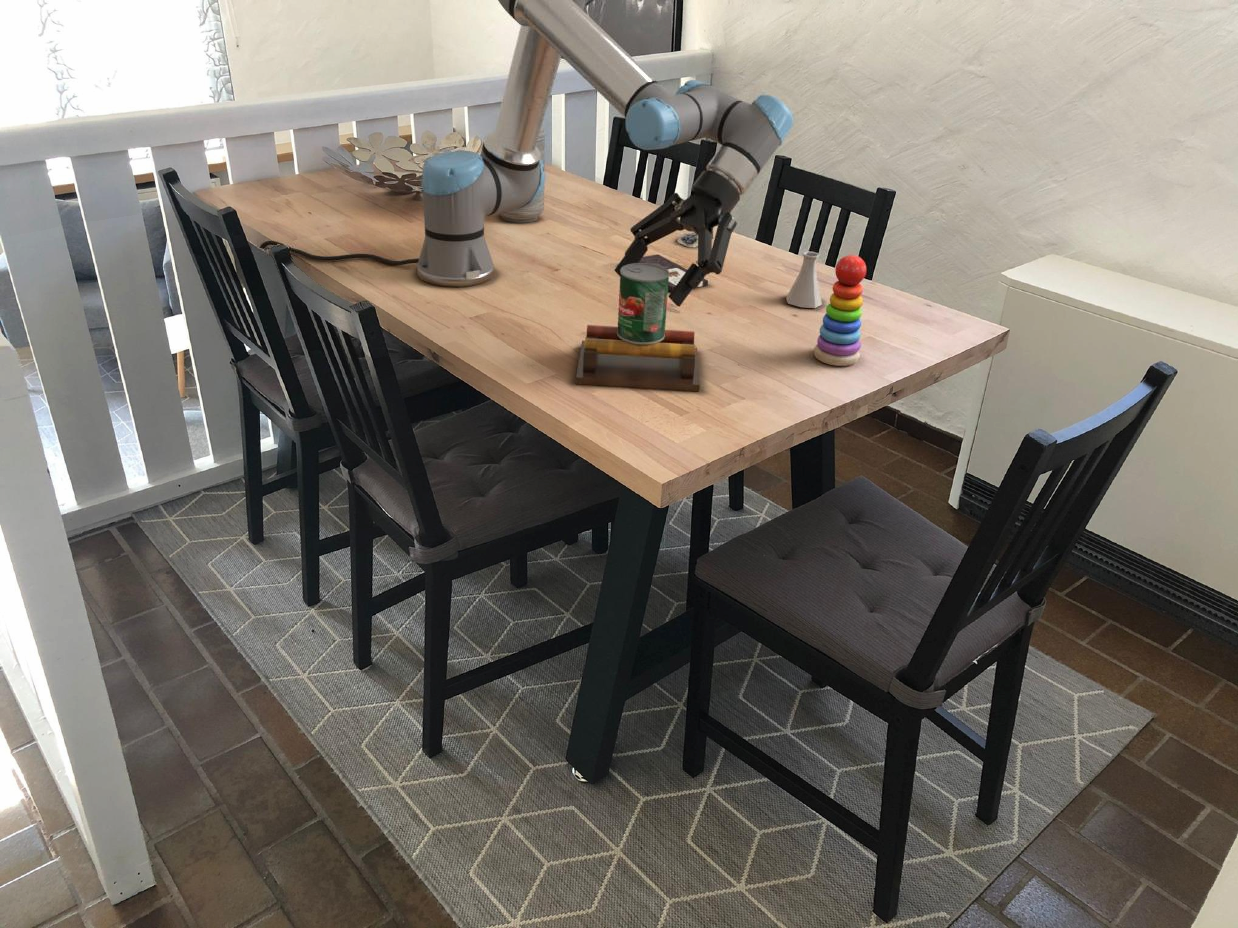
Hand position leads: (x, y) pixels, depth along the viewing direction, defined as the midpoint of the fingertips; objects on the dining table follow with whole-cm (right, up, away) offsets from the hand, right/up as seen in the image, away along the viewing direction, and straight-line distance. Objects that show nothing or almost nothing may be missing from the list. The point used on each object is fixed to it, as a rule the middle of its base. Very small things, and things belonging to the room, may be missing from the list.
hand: (645, 288), depth 159 cm
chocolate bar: (+5, +11, +47) cm, 49 cm away
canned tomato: (-1, -7, +4) cm, 8 cm away
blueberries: (+12, +22, +67) cm, 72 cm away
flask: (+32, +4, +38) cm, 50 cm away
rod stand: (-1, -12, +7) cm, 14 cm away
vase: (-28, +30, +77) cm, 87 cm away
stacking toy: (+34, -10, +15) cm, 38 cm away
